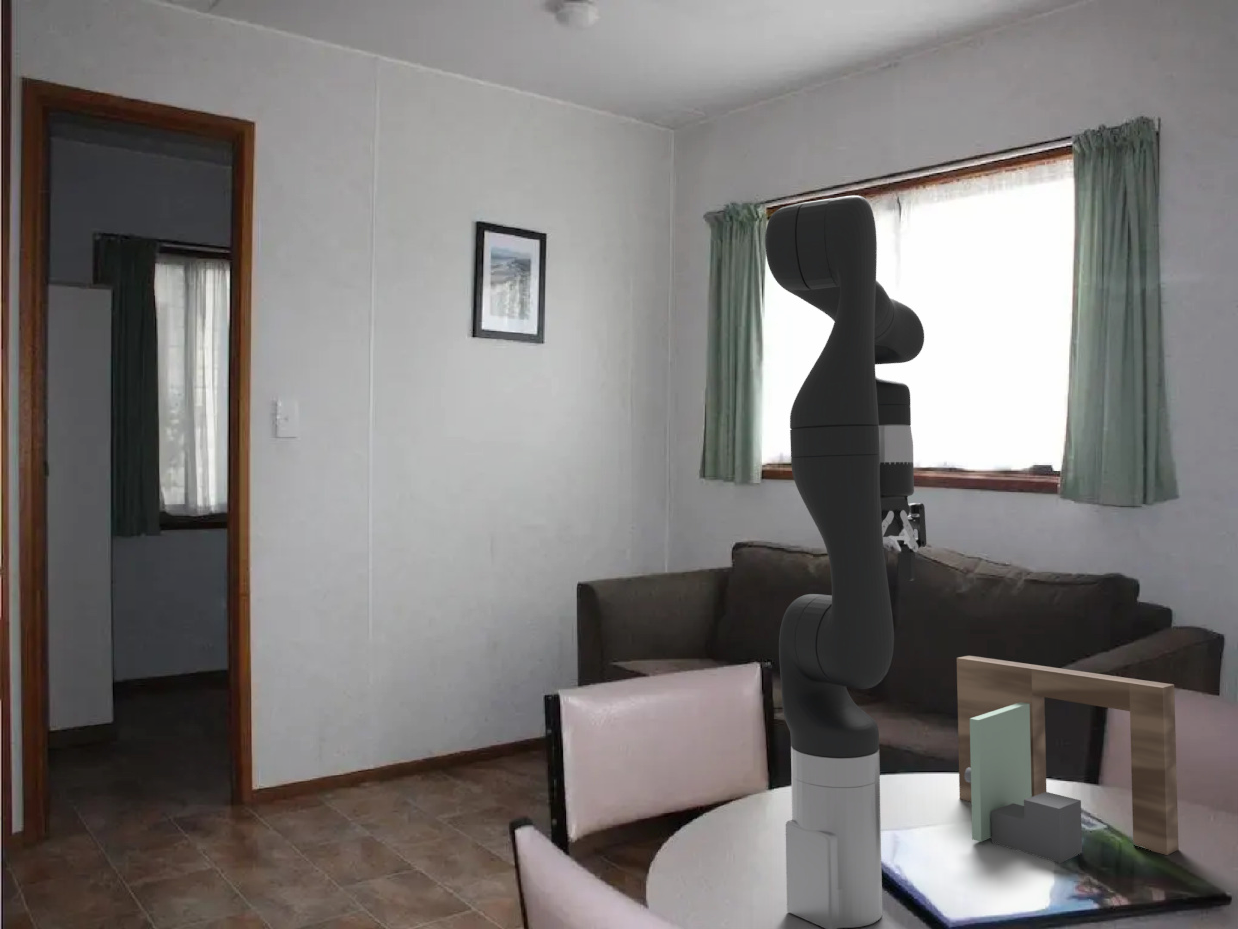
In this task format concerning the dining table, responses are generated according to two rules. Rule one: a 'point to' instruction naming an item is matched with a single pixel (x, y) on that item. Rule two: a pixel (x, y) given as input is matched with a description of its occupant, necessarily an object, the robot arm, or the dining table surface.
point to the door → (998, 763)
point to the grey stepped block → (1040, 826)
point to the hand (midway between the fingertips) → (886, 582)
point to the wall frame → (1147, 701)
